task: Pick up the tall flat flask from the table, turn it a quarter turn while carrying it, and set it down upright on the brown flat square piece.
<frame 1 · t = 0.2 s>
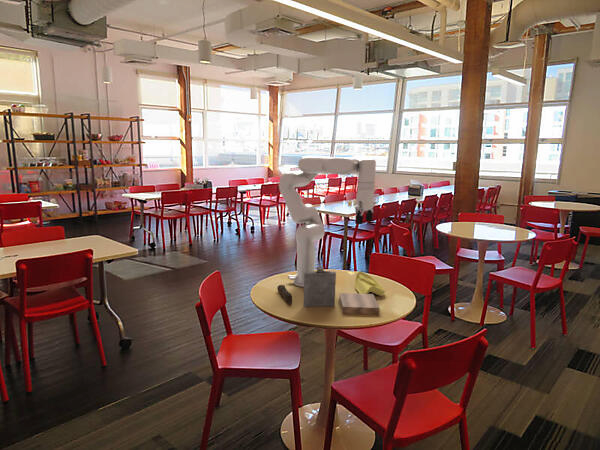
hand: (364, 222, 192), 37 cm above the table, tool pointing down, fingers open, 9 cm apart
plastic component: (368, 291, 209), on the table
hand tool: (286, 299, 196), on the table
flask: (318, 305, 188), on the table
brown flat square piece: (358, 306, 188), on the table
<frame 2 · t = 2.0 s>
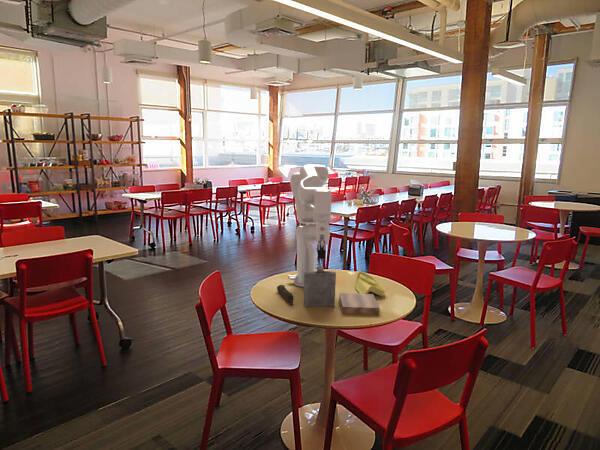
hand: (320, 255, 183), 24 cm above the table, tool pointing down, fingers open, 9 cm apart
nothing on the table moved.
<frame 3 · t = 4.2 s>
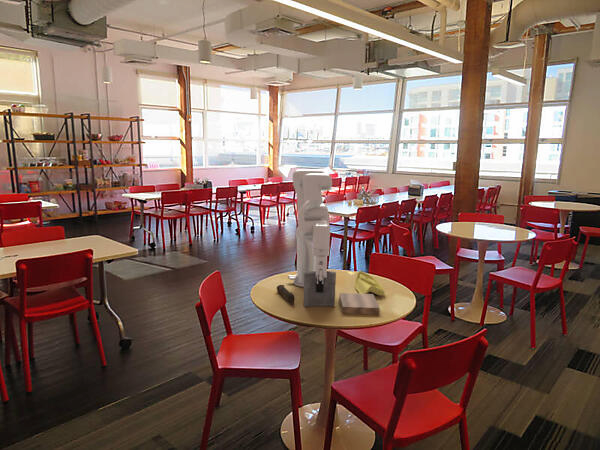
hand: (319, 290, 186), 7 cm above the table, tool pointing down, fingers closed on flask, 3 cm apart
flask: (318, 305, 188), on the table, touching gripper
everything else where it was.
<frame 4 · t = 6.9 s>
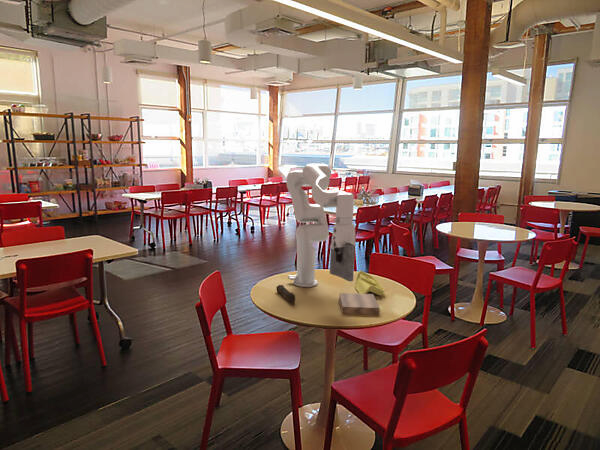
hand: (342, 260, 184), 21 cm above the table, tool pointing down, fingers closed on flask, 3 cm apart
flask: (341, 277, 185), point 14 cm above the table, touching gripper
everything else where it was.
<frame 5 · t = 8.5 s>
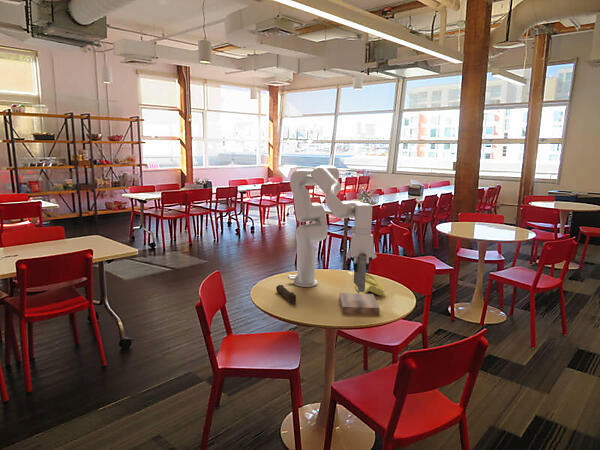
hand: (360, 270, 184), 17 cm above the table, tool pointing down, fingers closed on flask, 3 cm apart
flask: (359, 286, 186), point 9 cm above the table, touching gripper
everything else where it was.
when the fingers open (11 cm above the table, at t = 9.7 s): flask stays where it is, resting on brown flat square piece.
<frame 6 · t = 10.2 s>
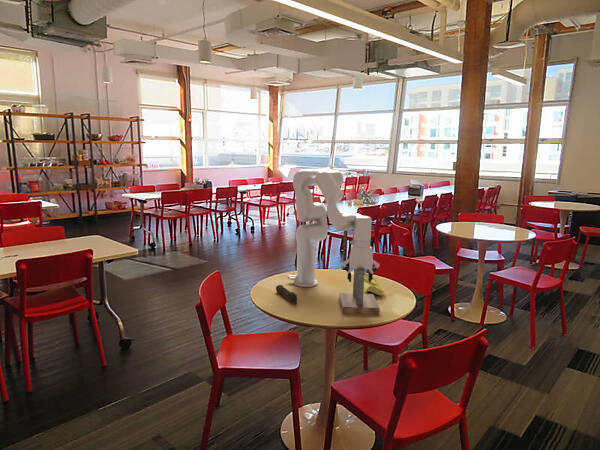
hand: (359, 281, 185), 12 cm above the table, tool pointing down, fingers open, 8 cm apart
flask: (358, 300, 187), point 3 cm above the table, touching brown flat square piece
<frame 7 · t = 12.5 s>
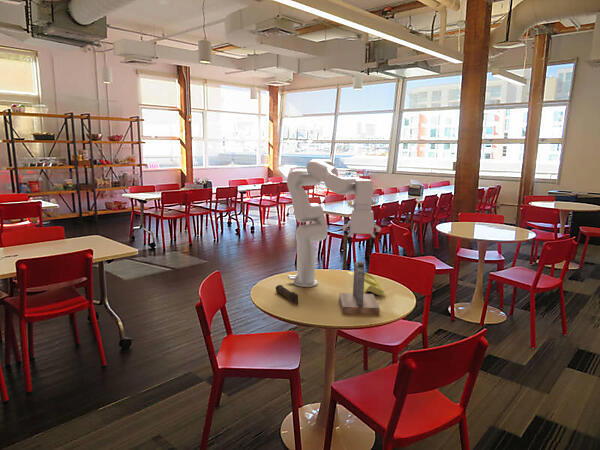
hand: (360, 245, 183), 28 cm above the table, tool pointing down, fingers open, 9 cm apart
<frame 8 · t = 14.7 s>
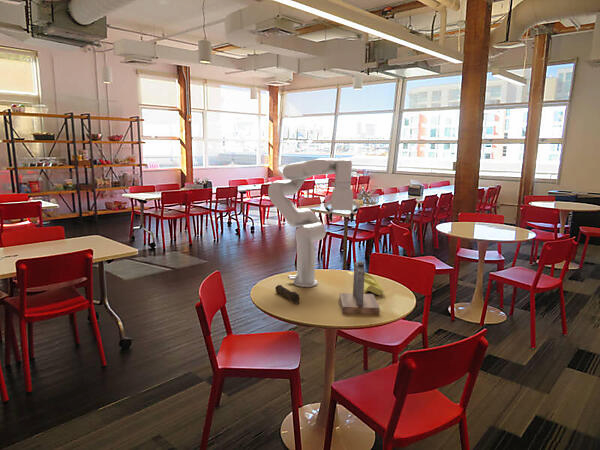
hand: (341, 221, 197), 36 cm above the table, tool pointing down, fingers open, 9 cm apart
at the end: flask inside the target area on the brown flat square piece (0.2 cm from its centre), point 2.8 cm above the brown flat square piece's base; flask tilted 0°; the gripper is holding nothing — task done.
